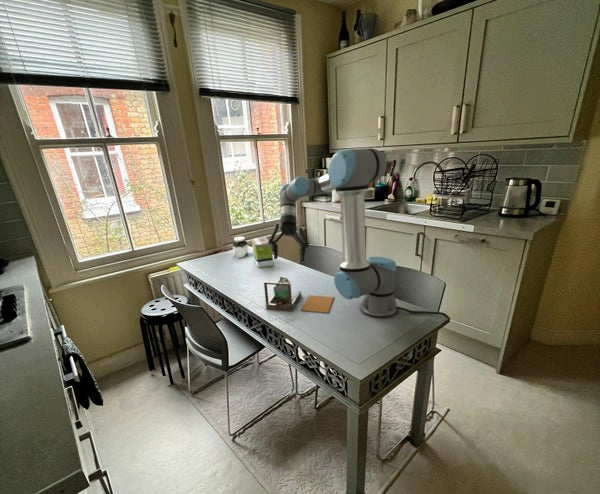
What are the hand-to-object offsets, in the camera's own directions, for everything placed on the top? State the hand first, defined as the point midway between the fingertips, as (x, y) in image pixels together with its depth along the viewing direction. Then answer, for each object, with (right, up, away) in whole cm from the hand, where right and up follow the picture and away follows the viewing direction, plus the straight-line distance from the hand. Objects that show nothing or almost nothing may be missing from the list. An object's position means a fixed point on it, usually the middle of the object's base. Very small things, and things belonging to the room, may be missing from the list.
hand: (289, 260), depth 148 cm
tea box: (-18, +3, +52) cm, 55 cm away
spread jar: (-35, +9, +68) cm, 77 cm away
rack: (-2, -19, +1) cm, 20 cm away
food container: (-2, -20, +1) cm, 20 cm away
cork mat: (+13, -21, -3) cm, 25 cm away
